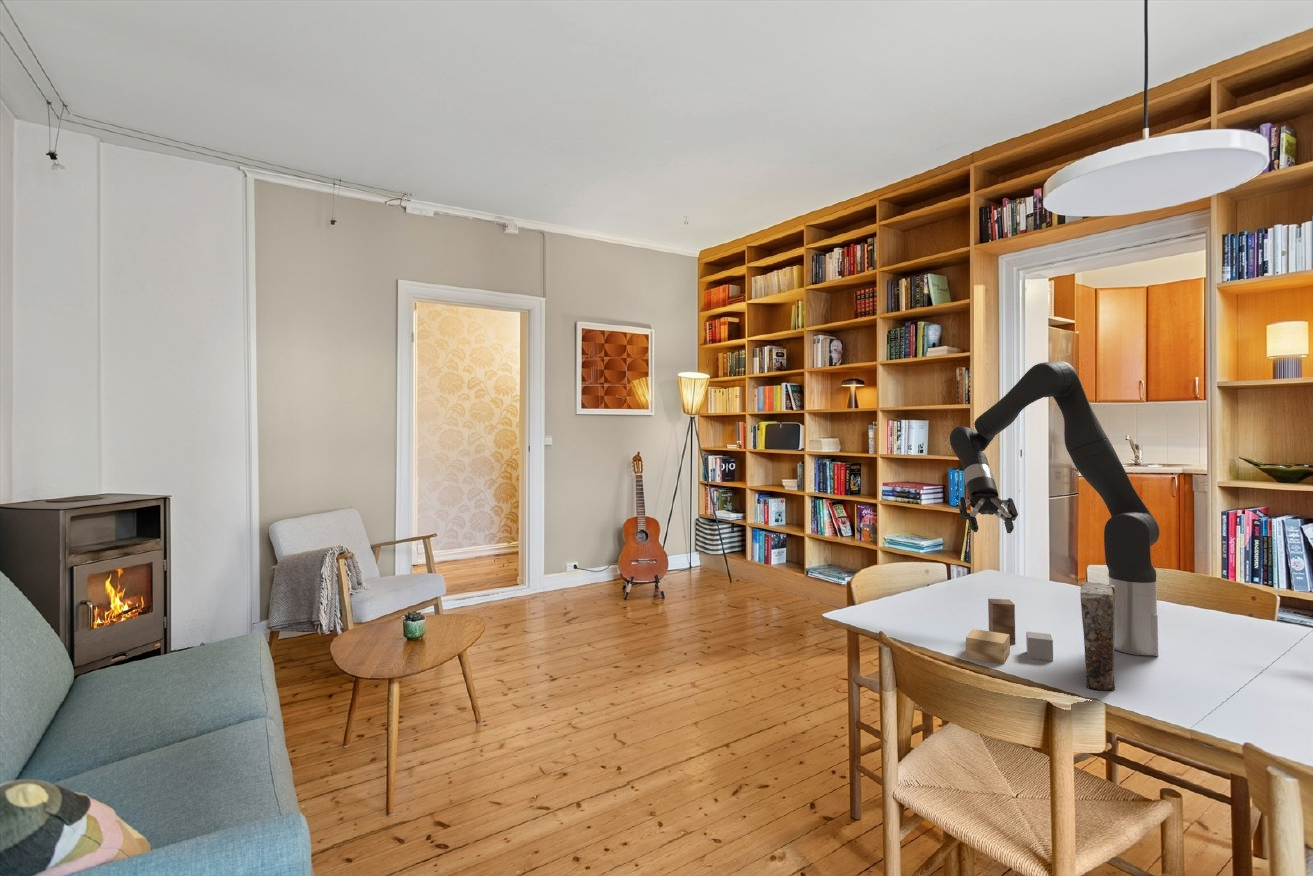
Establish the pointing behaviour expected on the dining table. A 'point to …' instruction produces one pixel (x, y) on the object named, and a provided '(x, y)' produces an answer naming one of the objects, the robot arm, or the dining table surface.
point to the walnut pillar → (1002, 617)
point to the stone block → (1098, 633)
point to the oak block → (988, 646)
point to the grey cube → (1039, 646)
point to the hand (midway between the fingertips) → (993, 531)
